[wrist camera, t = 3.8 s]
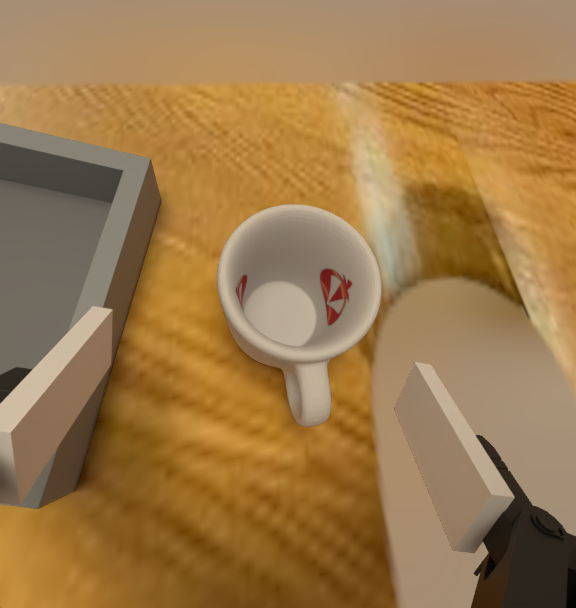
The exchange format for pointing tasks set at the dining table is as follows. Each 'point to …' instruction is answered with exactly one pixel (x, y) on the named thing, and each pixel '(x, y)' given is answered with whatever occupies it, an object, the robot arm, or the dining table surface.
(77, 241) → the tray
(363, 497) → the dining table surface
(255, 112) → the dining table surface
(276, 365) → the cup
